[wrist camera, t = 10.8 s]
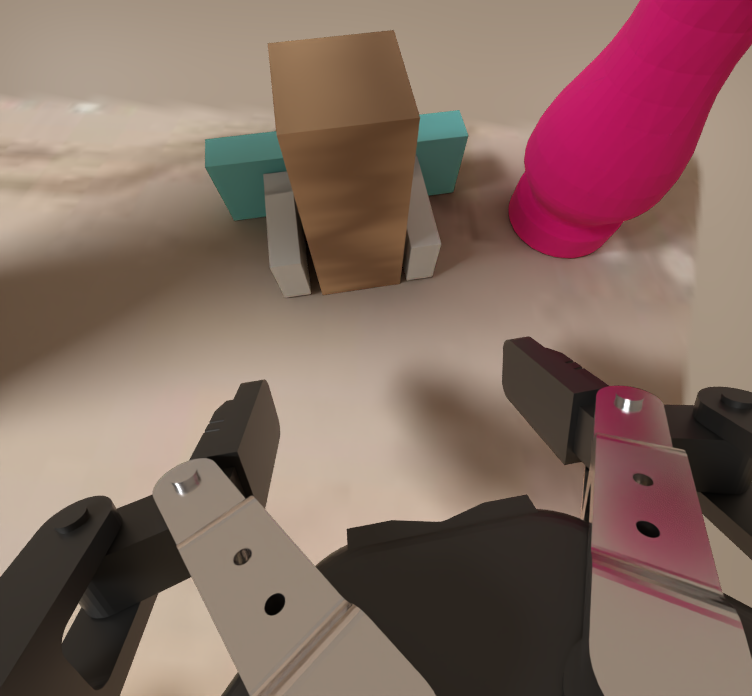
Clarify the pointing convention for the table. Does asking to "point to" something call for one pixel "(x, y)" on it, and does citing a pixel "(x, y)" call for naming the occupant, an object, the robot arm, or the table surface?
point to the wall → (263, 155)
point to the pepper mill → (627, 124)
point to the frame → (290, 237)
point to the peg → (348, 152)
